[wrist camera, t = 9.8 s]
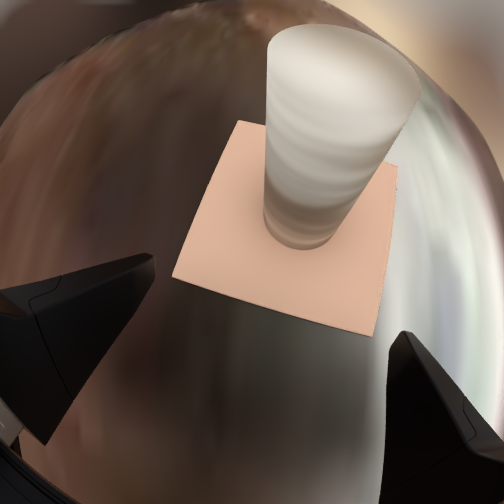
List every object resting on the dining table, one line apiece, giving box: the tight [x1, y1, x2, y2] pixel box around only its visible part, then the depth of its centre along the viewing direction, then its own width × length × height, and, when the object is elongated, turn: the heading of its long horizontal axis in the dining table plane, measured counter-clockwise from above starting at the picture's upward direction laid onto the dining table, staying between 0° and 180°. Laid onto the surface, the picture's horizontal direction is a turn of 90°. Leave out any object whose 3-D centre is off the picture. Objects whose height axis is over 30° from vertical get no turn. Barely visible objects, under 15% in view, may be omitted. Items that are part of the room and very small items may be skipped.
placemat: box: [172, 120, 397, 337], centre depth 19 cm, size 13×13×1 cm
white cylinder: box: [263, 24, 421, 250], centre depth 13 cm, size 5×5×12 cm
